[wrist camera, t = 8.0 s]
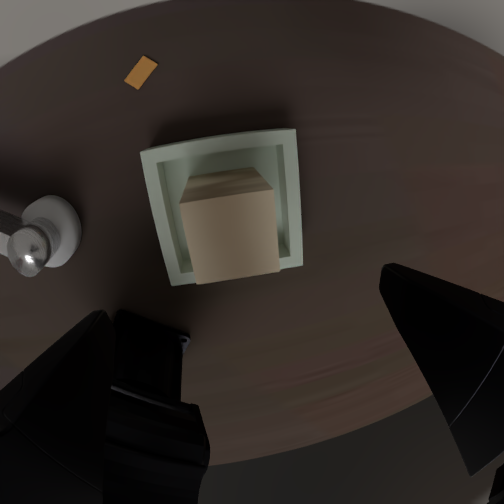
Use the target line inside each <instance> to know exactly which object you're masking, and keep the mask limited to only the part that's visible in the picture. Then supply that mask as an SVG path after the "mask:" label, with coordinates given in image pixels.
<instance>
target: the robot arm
mask: <svg viewBox="0 0 504 504" xmlns="http://www.w3.org/2000/svg"><path fill="white" fill-rule="evenodd" d="M379 290H380V293H381V295H382V297H383V300H384V302H385V304H386V306H387V308H388V310H389V312H390V314H391V317H392V319H393V321H394V323H395V325H396V327H397V329H398V331H399V333H400V334H401V336H402V338H403V340H404V341H405V343H406V345H407V347H408V348H409V350H410V352H411V354H412V355H413V357H414V359H415V361H416V363H417V364H418V366H419V368H420V370H421V372H422V374H423V376H424V377H425V379H426V381H427V383H428V385H429V387H430V389H431V391H432V393H433V395H434V397H435V399H436V401H437V403H438V405H439V407H440V409H441V411H442V413H443V415H444V417H445V419H446V422H447V424H448V426H449V427H450V428H449V429H450V431H451V433H452V435H453V437H454V440H455V442H456V444H457V446H458V449H459V451H460V453H461V456H462V458H463V461H464V463H465V466H466V469H467V471H468V473H469V475H470V477H472V476H473V475H475V474H476V473H477V472H479V471H480V470H481V469H483V468H484V467H485V466H487V465H488V464H489V463H491V462H492V461H493V460H494V459H496V458H497V457H498V456H499V455H500V454H502V453H503V452H504V302H502V301H499V300H496V299H494V298H491V297H488V296H486V295H483V294H479V293H478V292H475V291H472V290H470V289H467V288H464V287H461V286H459V285H456V284H453V283H451V282H448V281H445V280H442V279H439V278H437V277H434V276H431V275H428V274H425V273H423V272H420V271H417V270H414V269H411V268H408V267H405V266H402V265H399V264H396V263H390V264H385V265H384V266H383V267H382V270H381V277H380V284H379ZM120 315H123V316H124V317H122V316H120ZM183 338H185V339H183ZM189 343H190V336H189V335H188V334H187V333H184V332H181V331H178V330H175V329H172V328H170V327H167V326H164V325H161V324H159V323H156V322H153V321H151V320H148V319H145V318H143V317H140V316H138V315H135V314H132V313H130V312H127V311H125V310H118V311H117V313H116V316H115V320H114V323H113V325H112V323H111V321H110V319H109V316H108V314H107V313H106V311H104V310H97V311H93V312H91V313H90V314H89V315H88V316H86V317H85V318H84V319H83V320H81V321H80V322H79V323H78V324H76V325H75V326H74V327H73V328H72V329H70V330H69V331H68V332H67V333H66V334H64V335H63V336H62V337H61V338H60V339H59V340H57V341H56V342H55V343H54V344H53V345H51V346H50V347H49V348H48V349H47V350H46V351H45V352H43V353H42V354H41V355H40V356H39V357H38V358H36V359H35V360H34V361H33V362H32V363H31V364H30V365H29V366H27V367H26V368H25V369H24V371H22V372H21V373H20V374H18V375H17V376H16V377H15V378H14V379H13V380H12V381H11V382H10V383H8V384H7V385H6V386H5V387H4V388H3V389H1V390H0V504H197V503H198V494H199V488H200V484H201V480H202V478H203V476H204V474H205V472H206V470H207V467H208V464H209V459H210V444H209V440H208V437H207V433H206V430H205V427H204V423H203V420H202V416H201V413H200V409H199V406H198V405H196V404H192V403H191V404H188V403H184V402H181V378H182V358H183V354H184V352H185V350H186V348H187V346H188V345H189ZM487 504H504V463H503V464H502V465H501V466H500V467H499V468H498V469H497V470H496V475H495V478H494V482H493V486H492V489H491V493H490V496H489V502H488V503H487Z"/></svg>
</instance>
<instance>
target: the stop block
mask: <svg viewBox="0 0 504 504" xmlns="http://www.w3.org/2000/svg"><path fill="white" fill-rule="evenodd" d="M179 206H180V211H181V216H182V221H183V226H184V231H185V235H186V240H187V245H188V249H189V254H190V258H191V262H192V267H193V271H194V275H195V279H196V284H197V285H199V284H205V283H212V282H218V281H224V280H231V279H237V278H243V277H249V276H255V275H261V274H267V273H273V272H279V271H280V263H279V249H278V236H277V223H276V211H275V199H274V189H273V188H272V187H271V186H270V185H269V184H268V182H267V181H266V180H265V179H264V178H263V177H262V176H261V175H260V174H259V172H258V171H257V170H256V169H255V168H254V167H248V168H241V169H234V170H227V171H220V172H213V173H207V174H201V175H195V176H189V178H188V181H187V183H186V186H185V189H184V191H183V194H182V197H181V200H180V203H179Z"/></svg>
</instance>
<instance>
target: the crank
mask: <svg viewBox="0 0 504 504" xmlns="http://www.w3.org/2000/svg"><path fill="white" fill-rule="evenodd" d="M59 247H60V236H59V233H58V230H57V228H56V227H55V225H54V224H53V223H52V222H51V221H50V220H48V219H47V218H44V217H36V218H34V219H32V220H31V221H27V220H25V219H22V218H20V217H17V216H15V215H13V214H10V213H8V212H5V211H3V210H1V209H0V254H3V255H5V256H7V257H9V260H10V262H11V264H12V265H13V267H14V268H15V269H16V270H17V271H18V272H19V273H20V274H22V275H24V276H27V277H33V276H35V275H37V274H38V273H39V272H40V270H41V269H42V268H43V267H44V266H45V265H46V264H47V263H48V261H49V260H50V259H51V258H52V257H53V256H54V255H55V254H56V253H57V251H58V249H59Z"/></svg>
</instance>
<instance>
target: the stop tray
mask: <svg viewBox="0 0 504 504" xmlns="http://www.w3.org/2000/svg"><path fill="white" fill-rule="evenodd" d="M140 155H141V160H142V166H143V171H144V176H145V181H146V186H147V191H148V195H149V200H150V205H151V209H152V213H153V218H154V222H155V226H156V230H157V234H158V238H159V242H160V246H161V250H162V254H163V258H164V261H165V265H166V269H167V272H168V276H169V279H170V283H171V286H177V285H184V284H191V283H196V279H195V275H194V271H193V267H192V262H191V258H190V254H189V249H188V245H187V240H186V235H185V231H184V226H183V221H182V216H181V211H180V206H179V203H180V200H181V197H182V194H183V191H184V189H185V186H186V183H187V181H188V178H189V176H195V175H201V174H207V173H213V172H220V171H227V170H234V169H241V168H248V167H254V168H255V169H256V170H257V171H258V172H259V174H260V175H261V176H262V177H263V178H264V179H265V180H266V181H267V182H268V184H269V185H270V186H271V187H272V188H273V189H274V199H275V211H276V223H277V236H278V249H279V263H280V269H284V268H290V267H296V266H302V265H303V250H302V222H301V201H300V183H299V168H298V153H297V141H296V129H290V128H276V129H265V130H255V131H246V132H238V133H230V134H222V135H215V136H209V137H202V138H196V139H191V140H185V141H180V142H174V143H169V144H164V145H159V146H155V147H150V148H147V149H145V150H143V151H141V152H140Z"/></svg>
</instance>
